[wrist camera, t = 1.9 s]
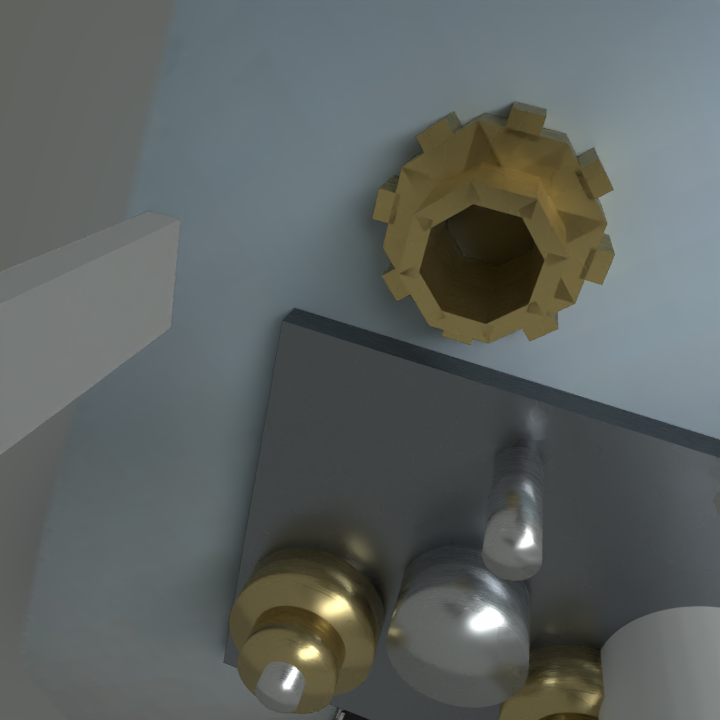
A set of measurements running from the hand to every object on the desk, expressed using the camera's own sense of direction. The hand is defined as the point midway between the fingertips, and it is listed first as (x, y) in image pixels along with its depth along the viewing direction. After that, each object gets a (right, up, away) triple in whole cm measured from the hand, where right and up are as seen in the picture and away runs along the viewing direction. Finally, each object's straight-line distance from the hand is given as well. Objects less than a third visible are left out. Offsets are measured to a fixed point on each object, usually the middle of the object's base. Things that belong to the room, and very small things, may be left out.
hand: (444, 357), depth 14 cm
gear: (+3, +5, +10) cm, 12 cm away
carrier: (+3, -11, +18) cm, 21 cm away
